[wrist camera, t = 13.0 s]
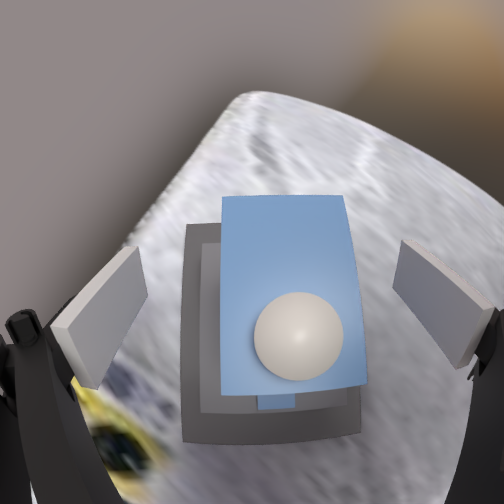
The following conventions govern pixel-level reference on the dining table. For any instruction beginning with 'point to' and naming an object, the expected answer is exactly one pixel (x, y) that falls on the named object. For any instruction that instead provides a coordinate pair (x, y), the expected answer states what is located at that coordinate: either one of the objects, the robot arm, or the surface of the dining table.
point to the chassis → (209, 370)
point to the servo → (288, 298)
